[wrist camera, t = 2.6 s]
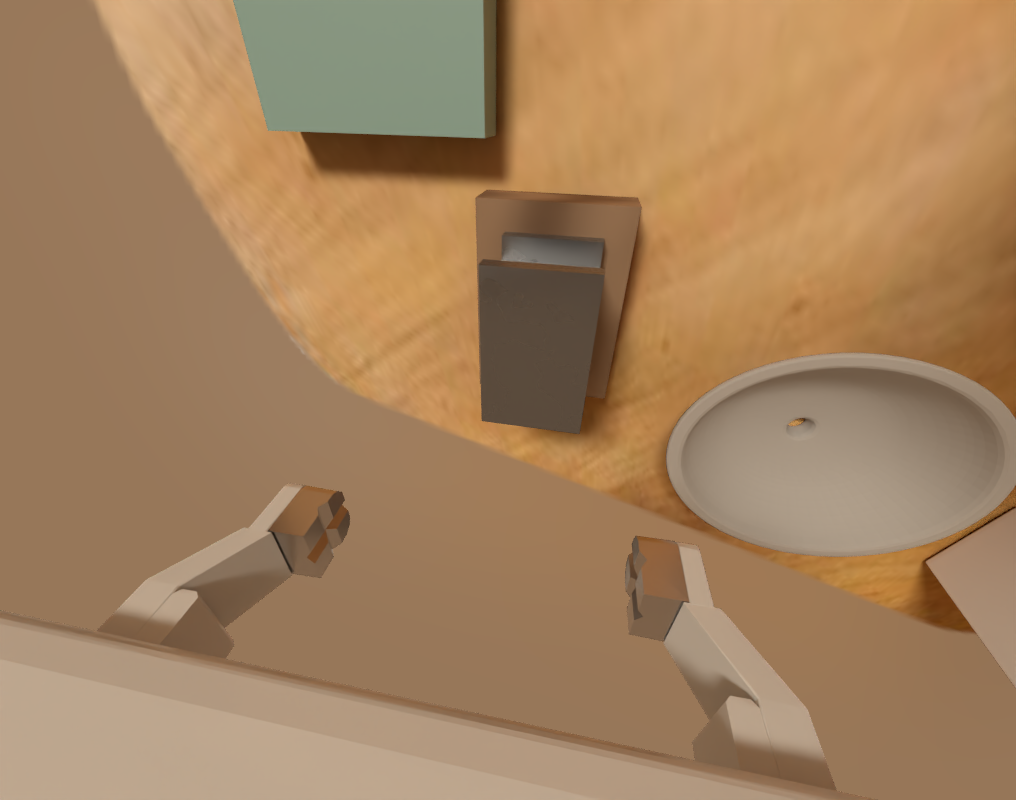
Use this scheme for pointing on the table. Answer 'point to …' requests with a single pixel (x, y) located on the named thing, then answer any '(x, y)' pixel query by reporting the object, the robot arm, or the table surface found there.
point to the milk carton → (985, 585)
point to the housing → (539, 329)
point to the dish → (844, 454)
